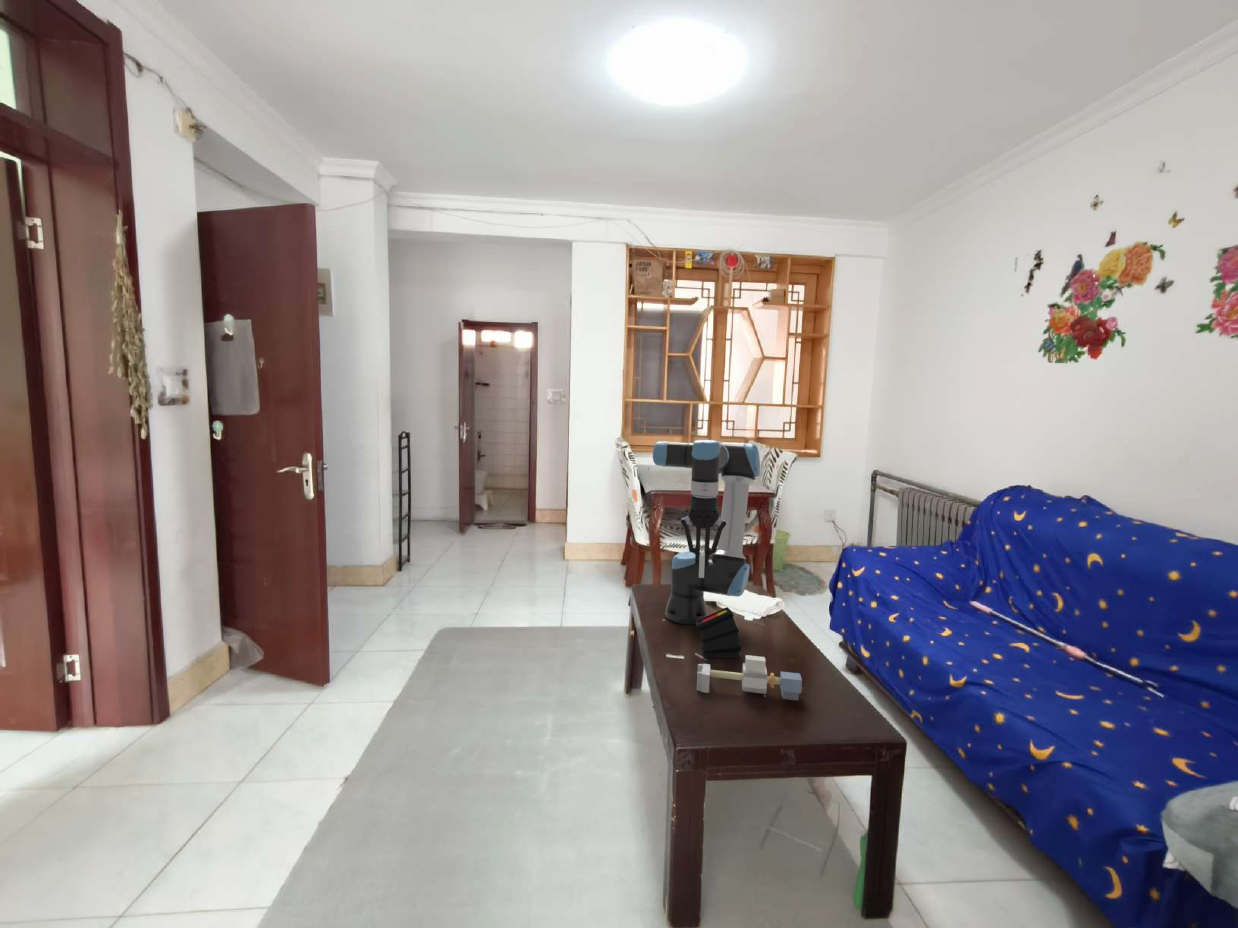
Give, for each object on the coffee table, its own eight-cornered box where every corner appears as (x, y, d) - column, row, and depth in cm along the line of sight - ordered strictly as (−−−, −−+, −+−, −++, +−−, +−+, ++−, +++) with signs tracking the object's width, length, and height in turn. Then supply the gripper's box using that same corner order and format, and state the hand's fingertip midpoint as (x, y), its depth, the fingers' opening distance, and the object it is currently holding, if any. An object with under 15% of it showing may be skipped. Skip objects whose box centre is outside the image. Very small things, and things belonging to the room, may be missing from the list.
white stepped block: (741, 681, 147) (743, 652, 147) (764, 683, 146) (766, 654, 145) (742, 691, 142) (744, 661, 141) (766, 693, 141) (768, 663, 140)
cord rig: (697, 680, 150) (698, 660, 149) (798, 691, 145) (799, 671, 145) (696, 691, 144) (697, 670, 144) (801, 703, 140) (802, 682, 139)
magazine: (750, 653, 163) (731, 610, 161) (710, 671, 163) (691, 628, 161) (747, 648, 167) (728, 605, 165) (708, 665, 167) (689, 623, 165)
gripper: (680, 497, 149) (678, 579, 153) (728, 499, 147) (725, 582, 151) (681, 491, 156) (679, 570, 160) (727, 493, 155) (724, 573, 158)
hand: (701, 576), depth 155 cm, fingers closed
